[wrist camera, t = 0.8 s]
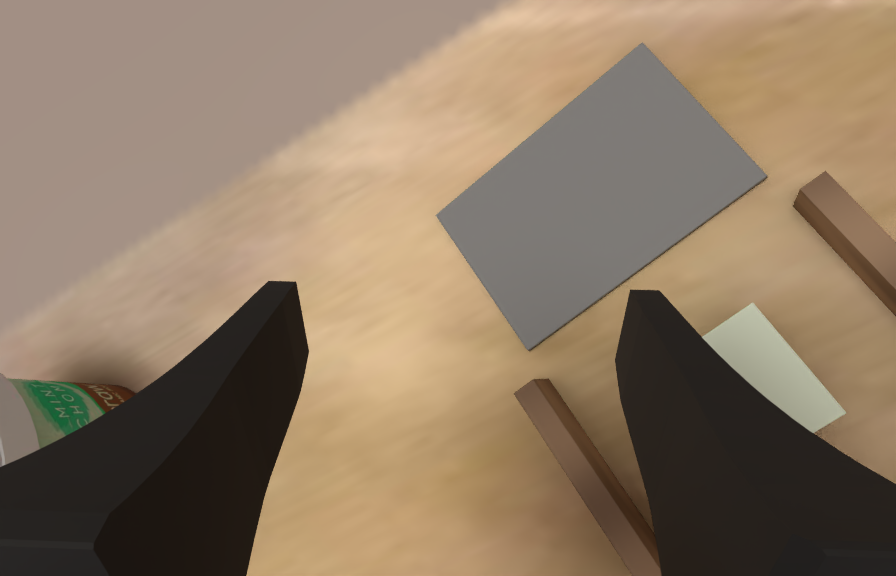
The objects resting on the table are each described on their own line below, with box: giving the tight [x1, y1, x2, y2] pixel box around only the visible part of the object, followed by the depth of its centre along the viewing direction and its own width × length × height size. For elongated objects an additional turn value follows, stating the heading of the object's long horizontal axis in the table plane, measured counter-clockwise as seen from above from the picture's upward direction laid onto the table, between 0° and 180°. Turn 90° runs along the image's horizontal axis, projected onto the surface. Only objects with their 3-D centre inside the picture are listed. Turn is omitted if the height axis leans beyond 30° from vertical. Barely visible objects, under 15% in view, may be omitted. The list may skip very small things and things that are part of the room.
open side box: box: [514, 171, 896, 576], centre depth 23 cm, size 12×14×2 cm
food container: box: [0, 373, 136, 467], centre depth 33 cm, size 12×6×10 cm, turn 66°
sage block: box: [702, 303, 846, 433], centre depth 22 cm, size 4×4×6 cm
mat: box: [436, 43, 767, 351], centre depth 28 cm, size 8×12×1 cm, turn 125°
